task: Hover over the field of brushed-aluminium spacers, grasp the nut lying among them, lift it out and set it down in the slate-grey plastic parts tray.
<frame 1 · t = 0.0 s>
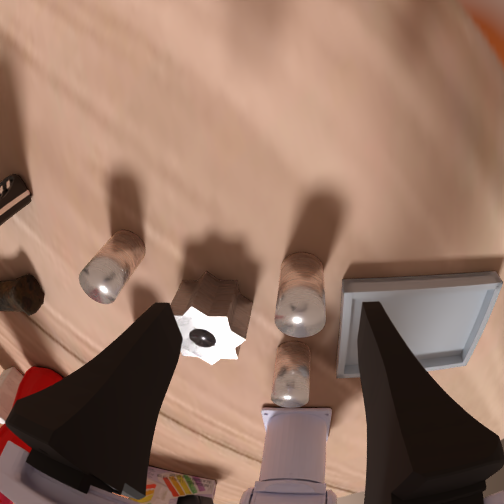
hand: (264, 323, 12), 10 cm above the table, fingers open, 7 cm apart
tray: (414, 323, 24), on the table
spacer 4: (302, 270, 22), on the table
nut: (214, 301, 25), on the table
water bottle: (60, 381, 41), on the table
cake pan box: (180, 473, 59), on the table
battery charger: (10, 191, 23), on the table
spacer 3: (128, 246, 24), on the table
small box: (18, 376, 46), on the table
spacer 1: (293, 351, 27), on the table
dark brown bar: (5, 289, 31), on the table
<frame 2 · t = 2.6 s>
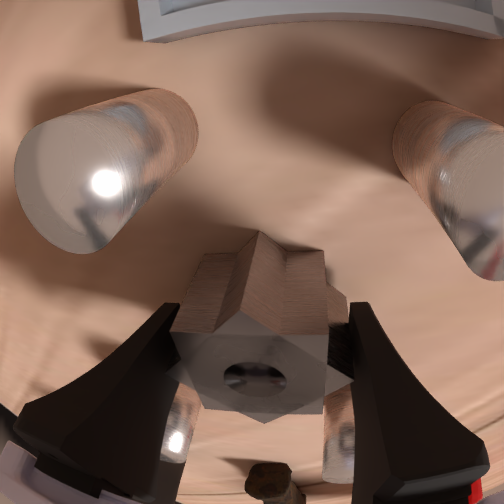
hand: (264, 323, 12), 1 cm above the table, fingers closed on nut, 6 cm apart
spacer 4: (155, 132, 10), on the table
nut: (268, 298, 13), on the table, touching gripper
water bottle: (443, 475, 26), on the table
spacer 2: (350, 395, 16), on the table
battery charger: (155, 439, 25), on the table
spacer 3: (181, 375, 17), on the table
spacer 1: (434, 146, 9), on the table
dark brown bar: (294, 483, 28), on the table
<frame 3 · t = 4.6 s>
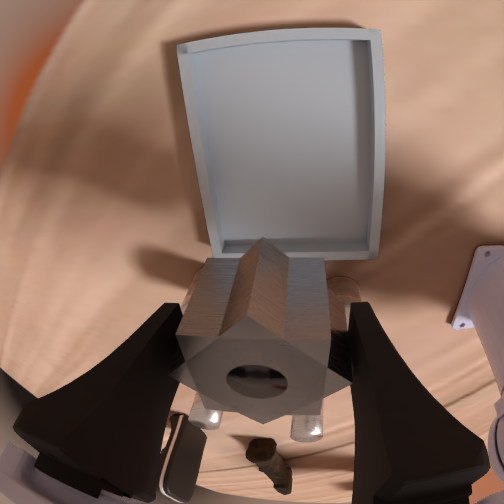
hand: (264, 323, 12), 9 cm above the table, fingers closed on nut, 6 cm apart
tray: (289, 147, 17), on the table
nut: (268, 302, 13), point 8 cm above the table, touching gripper
spacer 2: (308, 393, 30), on the table
battery charger: (187, 423, 38), on the table
spacer 3: (214, 381, 31), on the table
spacer 1: (339, 293, 22), on the table
dark brown bar: (281, 457, 42), on the table
when the fingers open (3 cm above the table, at t = 6.8 s): nut stays where it is, resting on tray.
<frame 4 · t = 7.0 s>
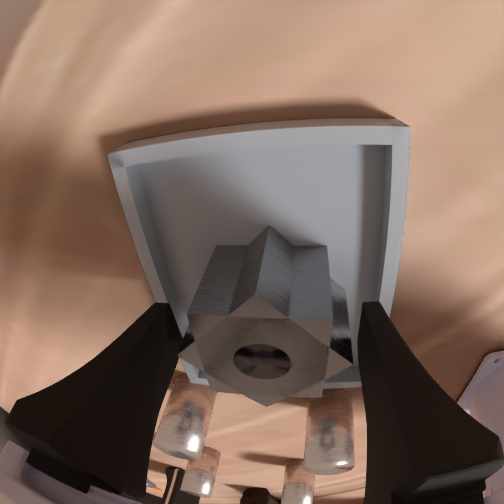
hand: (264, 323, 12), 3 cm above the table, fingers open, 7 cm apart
tray: (271, 276, 14), on the table
spacer 4: (195, 387, 20), on the table
nut: (273, 289, 14), resting on tray
spacer 2: (300, 463, 27), on the table
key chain: (152, 482, 46), on the table
battery charger: (182, 473, 35), on the table
spacer 3: (206, 451, 28), on the table
spacer 1: (330, 400, 19), on the table
dark brown bar: (279, 499, 39), on the table
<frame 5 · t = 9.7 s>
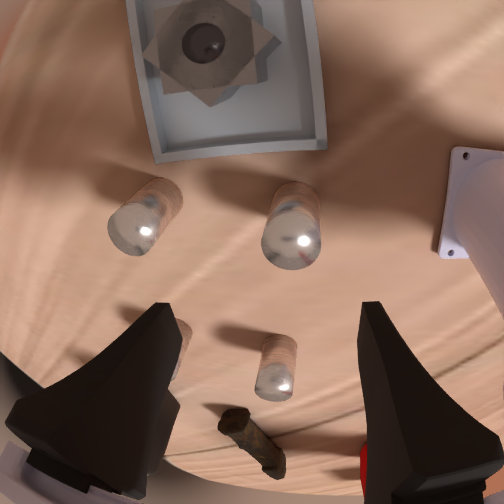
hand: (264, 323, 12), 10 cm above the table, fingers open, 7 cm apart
tray: (225, 42, 15), on the table
spacer 4: (162, 198, 21), on the table
nut: (225, 47, 15), resting on tray
spacer 2: (280, 345, 28), on the table
battery charger: (158, 388, 37), on the table
spacer 3: (177, 329, 29), on the table
spacer 1: (295, 204, 20), on the table
dark brown bar: (267, 435, 40), on the table
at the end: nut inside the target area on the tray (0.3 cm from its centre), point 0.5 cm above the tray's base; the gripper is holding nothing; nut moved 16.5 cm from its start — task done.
